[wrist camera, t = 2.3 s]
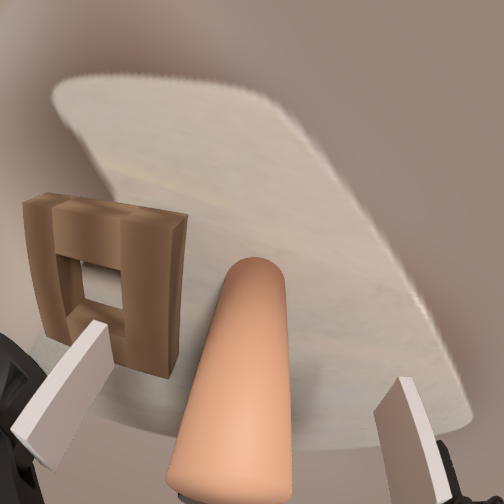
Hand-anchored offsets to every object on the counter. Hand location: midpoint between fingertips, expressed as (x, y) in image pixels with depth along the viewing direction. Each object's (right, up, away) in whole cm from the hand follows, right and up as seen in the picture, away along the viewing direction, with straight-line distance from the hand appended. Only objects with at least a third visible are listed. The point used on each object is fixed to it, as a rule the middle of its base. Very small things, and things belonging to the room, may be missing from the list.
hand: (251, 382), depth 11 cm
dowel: (0, +3, +8) cm, 9 cm away
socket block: (-11, +4, +9) cm, 14 cm away
